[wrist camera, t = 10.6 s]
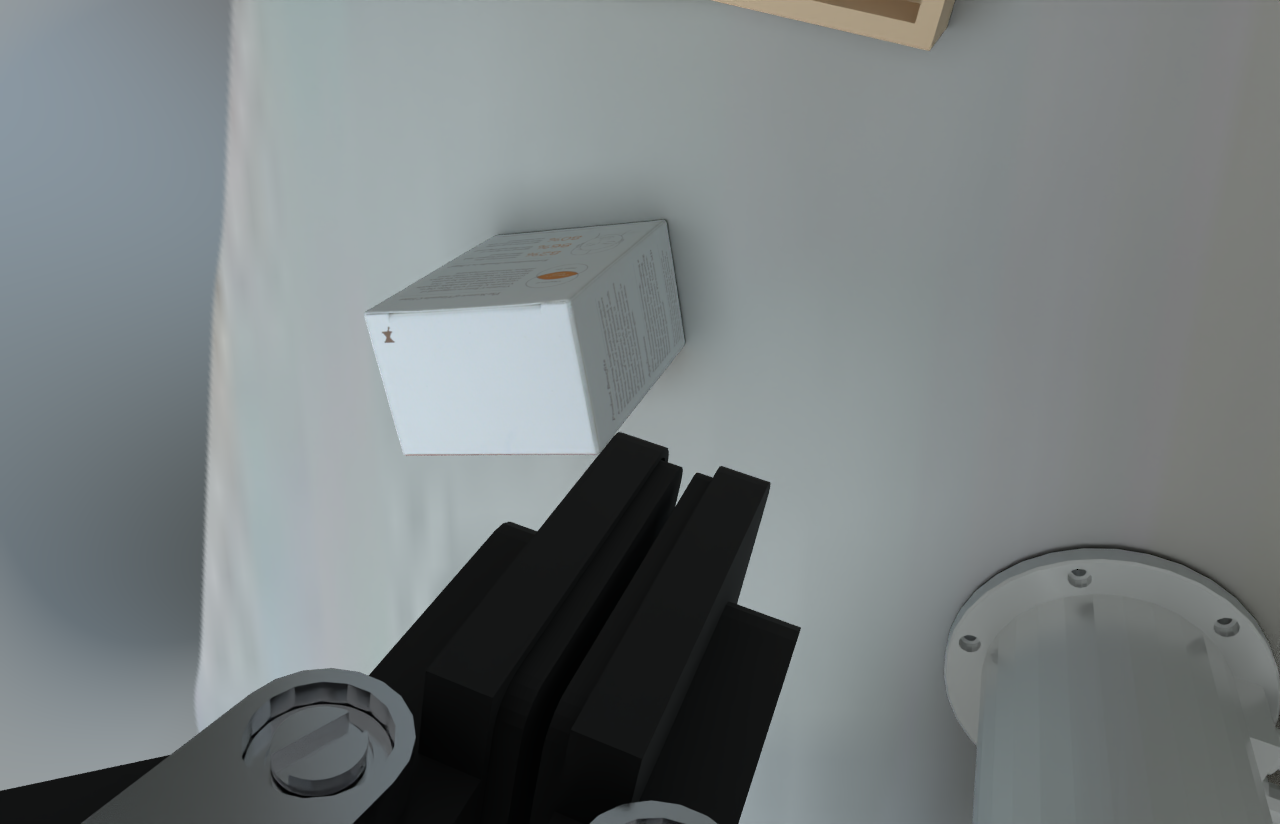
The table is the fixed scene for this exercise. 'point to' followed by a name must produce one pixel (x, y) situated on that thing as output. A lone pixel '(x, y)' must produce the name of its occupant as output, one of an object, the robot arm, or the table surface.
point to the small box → (530, 341)
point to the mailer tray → (866, 17)
